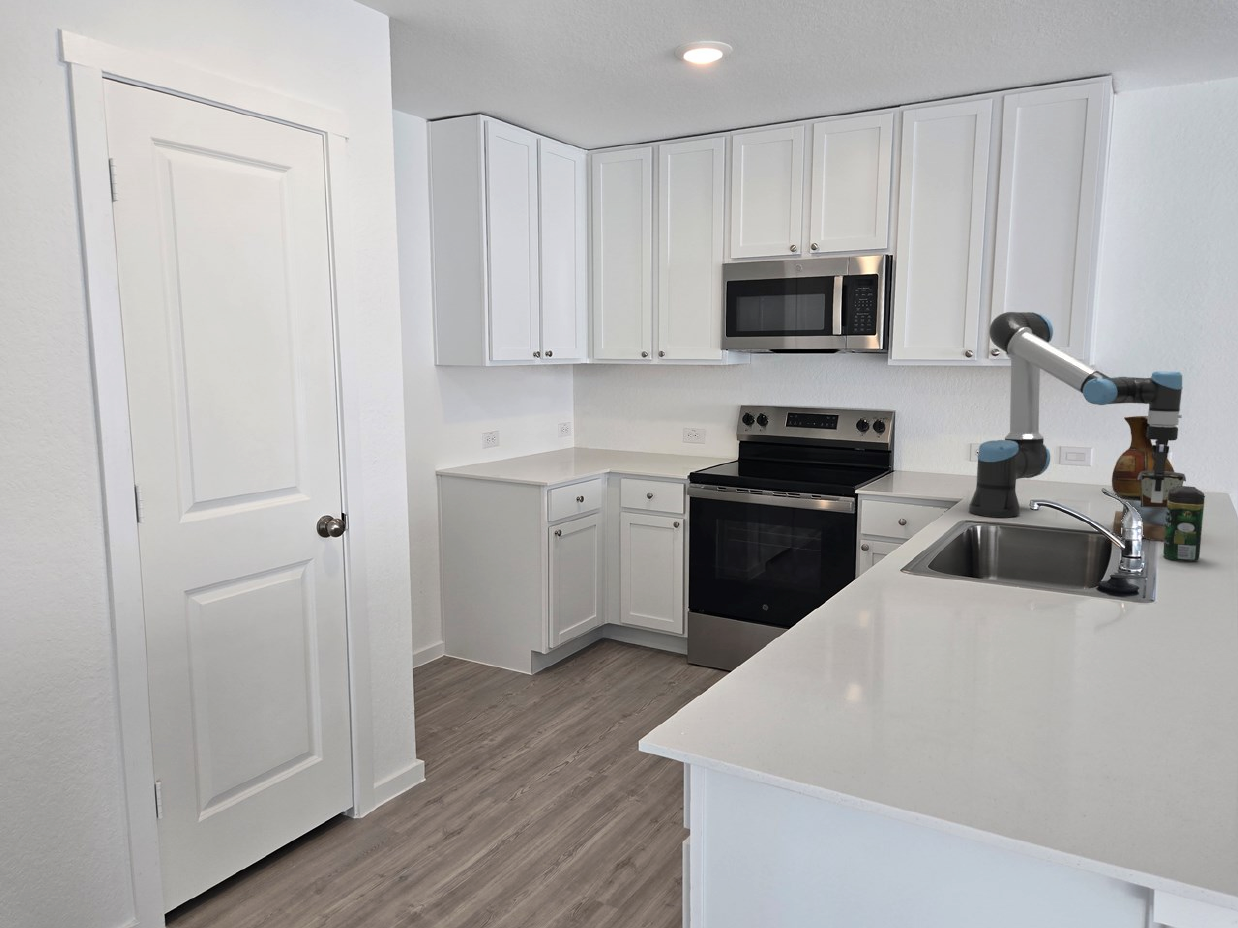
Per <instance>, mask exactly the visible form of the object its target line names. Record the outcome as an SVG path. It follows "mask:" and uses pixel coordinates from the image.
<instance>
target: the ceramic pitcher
mask: <svg viewBox="0 0 1238 928" xmlns="http://www.w3.org/2000/svg"><path fill="white" fill-rule="evenodd" d="M1123 420H1124V421H1126V423H1127V425H1128V427H1129V429H1130V436H1131V440H1130V446H1129V447H1128V448H1127V449H1126V450H1125V451H1123V453H1122V454H1120V456H1119V457H1118V459H1117V461H1116V462H1115V465H1114V468H1113V472H1112V476H1111V488H1112V490H1113V492H1114V493H1116V494H1118V495H1122V496H1126V497H1133V498H1141V497H1140V480H1138V479H1137V478H1138V475H1139V474H1140V472H1141V471H1153V467H1154V460H1153V445H1154V444H1153V442H1152V439H1148V438H1147V437H1146V436H1147V427H1148V426H1150V424H1148V423H1147V422H1148V415H1139V416H1138V415H1137V416H1136V415H1135V416H1127V417H1125V416H1124V418H1123ZM1166 445H1167V446H1169V440H1167V441H1166ZM1165 470H1166V471H1168V472H1175V470H1174V467H1173V466H1172V464H1171V461H1170V460H1169V459H1168V458H1167V461H1165Z"/></svg>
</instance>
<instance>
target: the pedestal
mask: <svg viewBox="0 0 1238 928" xmlns="http://www.w3.org/2000/svg"><path fill="white" fill-rule="evenodd" d="M1124 501H1125V502H1128V503H1129V504H1130V505H1131V506H1132V507H1134V508H1135V509H1136V510H1137V512H1138V513H1139V514H1140V516H1141V518H1142V522H1143V535H1144V538H1150V539H1155V540H1154V541H1157V540H1158V541H1159V542H1164V536H1165V521H1166V510H1167V508H1145V507H1141V500H1132V499H1124V500H1123V502H1124ZM1125 513H1126V507H1125V506H1124V504H1123V507H1122V510H1116V511H1115V513H1114V518H1113V523H1112V524H1113V526H1112V534H1113V533H1115V534H1118V535H1121V520H1122V519H1123V517H1124V515H1125Z"/></svg>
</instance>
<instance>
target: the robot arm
mask: <svg viewBox="0 0 1238 928" xmlns="http://www.w3.org/2000/svg"><path fill="white" fill-rule="evenodd" d="M988 335H989V338H990V340H991V342H992V343H993V344H994V345H995V346H996V347H998V348H999V349H1000V350H1001V351H1003V352H1005V354H1006V357H1008V358H1009V359H1010V396H1009V397H1010V398H1009V399H1010V401H1009V402H1010V403H1009V404H1010V407H1009V409H1010V411H1009V419H1010V420H1009V433H1008V434H1007V435H1006V436H1005V437H1004V439H997V440H995V439H994V440H987V441H985V442H982V443H981V444H980V445H979V447H978V453H977V467H976V468H977V470H976V471H977V472H976V485H975V486H976V488H975V491H974V493H973V495H972V498H971V501H970V503H969V507H968V511H969V513H971V514H974V515H977V516H983V517H991V518H993V517H994V518H1014V517H1013V516H1016V517H1019V516H1020V515H1021V507H1020V504H1019V500H1018V496H1017V491H1016V486H1017V480H1018V479H1019V480H1020V479H1031V478H1034V477H1037V476H1040V475H1042V474H1043V473H1044V472H1045V471H1047V469H1048V468H1049V465H1050V463H1051V453H1050V450H1049V448H1048V447H1047V445H1046V444H1045V443H1044V439H1045V438H1044V436H1043V435H1042V434H1041V433H1040V431H1039V424H1040V423H1039V422H1040V385H1041V383H1040V381H1041V380H1040V378H1041V377H1040V376H1041V375H1040V374H1041V373H1040V372H1041V370H1043V371H1044V372H1045V373H1048V374H1049V375H1051V377H1054V378H1056V379H1058V380H1059V381H1061V382H1062V383H1065V384H1066V385H1068V386H1069V387H1071V388H1073V389H1074V390H1076V391H1078V392H1079V393H1081V394H1082V395H1083V397H1084V399H1085V401H1087V403H1090V404H1092V405H1096V406H1097V405H1098V406H1107V405H1114V404H1115V405H1116V404H1117V405H1119V404H1145V405H1148V412H1147V414H1148V415H1147V416H1148V422H1147V423H1148V424H1150V426H1148V427H1147V436H1146V437H1147V438H1148V439H1151V441H1152V440H1153V441H1154V444H1152V445H1153V460H1154V467H1153V471H1154V475H1153V476H1151V479H1153V484H1152V495H1151V502H1154V503H1162V499H1163V488H1164V478H1165V476H1164V474H1165V471H1166V470H1165V461H1167V459H1168V456H1169V455H1168V454H1169V452H1170V445H1166V441H1167V440H1168V441H1171V442H1172V441H1176V440H1177V439H1178V435H1179V428H1178V427H1177V426H1178V425H1179V422H1180V421H1179V420H1180V419H1182V418H1183V415H1182V414H1180V411H1181V401H1182V393H1183V374H1182V373H1181V372H1179V371H1158V370H1157V371H1153V372H1152V373H1151V376H1150V377H1130V376H1113V377H1109V376H1108V375H1106V374H1104V373H1102V372H1101V371H1099V370H1097V369H1096V368H1094V367H1092V366H1090V365H1089V364H1087V363H1085V362H1083V361H1081V360H1079V359H1078V358H1077V357H1074V356H1072V355H1071V354H1069V353H1068V352H1066V351H1064V350H1062V349H1060V348H1059V347H1057V346H1056V345H1053V344H1052V343H1050V342H1051V341H1052V339H1053V335H1054V328H1053V325H1052V323H1051V321H1050V319H1049V318H1047V316H1045V315H1043V314H1042V313H1036V312H1033V311H1032V312H1027V311H1026V312H1025V311H1024V312H1017V311H1008V312H1003V313H1001V314H999V315H998V316H996V317H995V318H994V319H993V321H992V322H991V324H990V326H989V332H988ZM1019 514H1020V515H1019ZM1018 515H1019V516H1018Z"/></svg>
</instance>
